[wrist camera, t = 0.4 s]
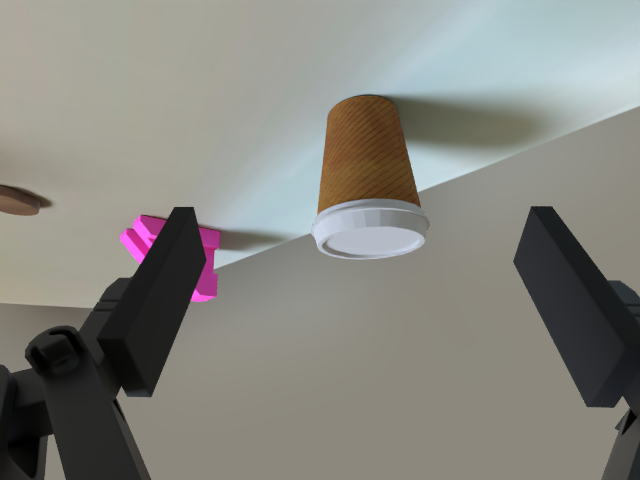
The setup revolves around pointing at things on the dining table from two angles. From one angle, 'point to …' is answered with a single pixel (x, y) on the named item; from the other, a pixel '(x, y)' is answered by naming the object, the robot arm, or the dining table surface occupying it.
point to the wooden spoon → (17, 202)
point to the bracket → (146, 235)
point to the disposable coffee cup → (367, 184)
